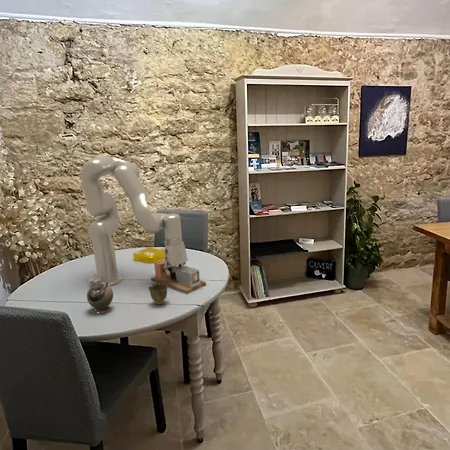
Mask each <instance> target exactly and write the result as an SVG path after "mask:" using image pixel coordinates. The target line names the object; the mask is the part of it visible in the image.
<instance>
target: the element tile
mask: <svg viewBox="0 0 450 450" xmlns="http://www.w3.org/2000/svg"><path fill="white" fill-rule="evenodd" d="M132 256H133V261H134V262H139V263H144V264H149V265H152V264H154V262H157V261H160V260H162V259H165V248H159V247H154V246H148V247H146V248H144V249H141V250H138V251H136V252H133V254H132Z"/></svg>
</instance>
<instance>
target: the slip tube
mask: <svg viewBox="0 0 450 450" xmlns="http://www.w3.org/2000/svg"><path fill="white" fill-rule="evenodd" d="M168 267H169V265H168ZM179 268H182V267H178V265H177V266H175V268H174V272H175V274H176V278H177V271H176V270H177V269H179ZM171 269H172V267H171ZM165 274H166V275H168V276H170V271H168V270H167V269H165ZM195 281H198V277H197V272H196V273H194V274H192V275H191V283H193V282H195Z"/></svg>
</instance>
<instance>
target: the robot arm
mask: <svg viewBox="0 0 450 450" xmlns="http://www.w3.org/2000/svg"><path fill="white" fill-rule="evenodd" d="M140 171H141V170H140V169H139V167H138V165H136V164H135V163H134V162H131V161H127V160H124V159H120V158H117V157H114V156H109V155H108V156H101V157H95V158H92V159H89V160H88V161H87V162H85V163H84V164H83V165H82V167H81V171H80V179H81V184H82V186H83V193H84V198H85V203H86V204H85V205H86V208H87V212H88V213H89V214H90V216H92V217H99V218H97V219H95V220H93V221H92V222H91V223H90V225H89V227H88V235H89V237H90V240H91V243H92V248H93V249H92V250H93V255H94V256H93V257H94V263H95V271H96V274H95V275H94V277H93V278H89V279H87V282H88V284H90V285H91V284H92V282H93V283H95V284H97V283H105V284H106V283H108V285H109V286H110V287H111V286H115V285H118V284H119V283H120V282H121V281H122V278H123V277H122V276H121V275H119V274H118V268H117V267H118V265H117V259H116V251H115V244H114V242H113V239H112V237H111V235H112V234H114V233H116V232H117V231H118V229H119V228H120V219H119V218H120V217H119V213H118V208H117V202H116V200H115V198H114V196H113V195H111V194H110V193H108V192H105V190H104V185H103V183H102V180H101V178H103V177H106V176H109V175H111V176H114V178H115V180H116V181H117V183H118V185H119V186H120V187H121V189H122V190H123V192H124V193H125V195H126V197H128V199H129V201H130V203H131V209H132V212H133V214H134V217H135V219H136V220H137V222H138V224H139V225H140V227H141V228H142V229H143V230H144V231H145V232H146V233H148V234H151V235H153V234H156V233H158V232H159V231H160V230H164V237H165V238H164V239H165V240H164V241H163V244H165V245H164V249H165V258H164V259H165V264H164V267H163V268H164V269H167V270H168V271H170V277H171V279H172V280H176V274H175V272H174V268H175V266H178V267H184V266H186V263H187V262H188V261H189V260H188V256H187V250H186V246H185V243H184V241H183V236H182V235H183V233H182V222H181V215H180V214H178V213H164V212H163V213H162V212H155V213H152V212H151V210H150V208H149V206H148V203H147V198H148V191H147V189H146V188H145V187H144V185H143V183H142V182H141V180H140V179H139V178H140V174H141V173H140ZM168 265H169V267H168ZM171 267H172V269H171Z"/></svg>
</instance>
